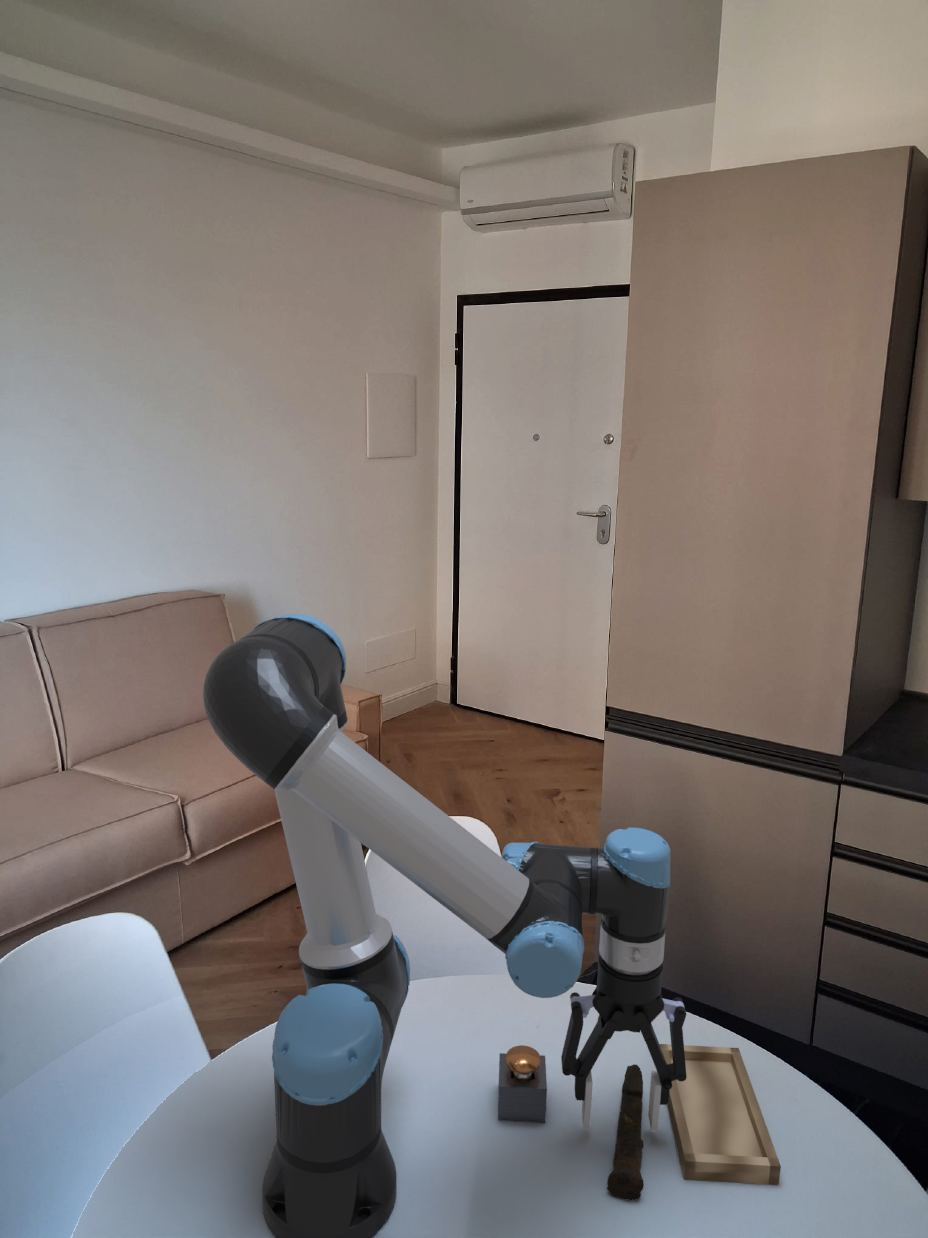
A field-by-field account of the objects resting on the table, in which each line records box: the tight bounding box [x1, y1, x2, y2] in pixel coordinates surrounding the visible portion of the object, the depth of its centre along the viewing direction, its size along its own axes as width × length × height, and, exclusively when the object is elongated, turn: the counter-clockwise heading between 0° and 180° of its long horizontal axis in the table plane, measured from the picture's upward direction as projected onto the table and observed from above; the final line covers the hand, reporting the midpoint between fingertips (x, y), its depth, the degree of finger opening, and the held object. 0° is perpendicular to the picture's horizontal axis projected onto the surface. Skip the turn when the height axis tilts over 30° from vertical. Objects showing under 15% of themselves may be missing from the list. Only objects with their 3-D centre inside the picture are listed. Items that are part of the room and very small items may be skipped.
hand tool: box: [606, 1064, 645, 1201], centre depth 111 cm, size 19×4×5 cm, turn 164°
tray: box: [659, 1043, 782, 1186], centre depth 115 cm, size 11×20×3 cm, turn 177°
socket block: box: [497, 1052, 548, 1124], centre depth 117 cm, size 6×6×5 cm
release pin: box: [505, 1044, 541, 1080], centre depth 116 cm, size 4×4×7 cm
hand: (619, 1121), depth 112 cm, fingers open, 8 cm apart
